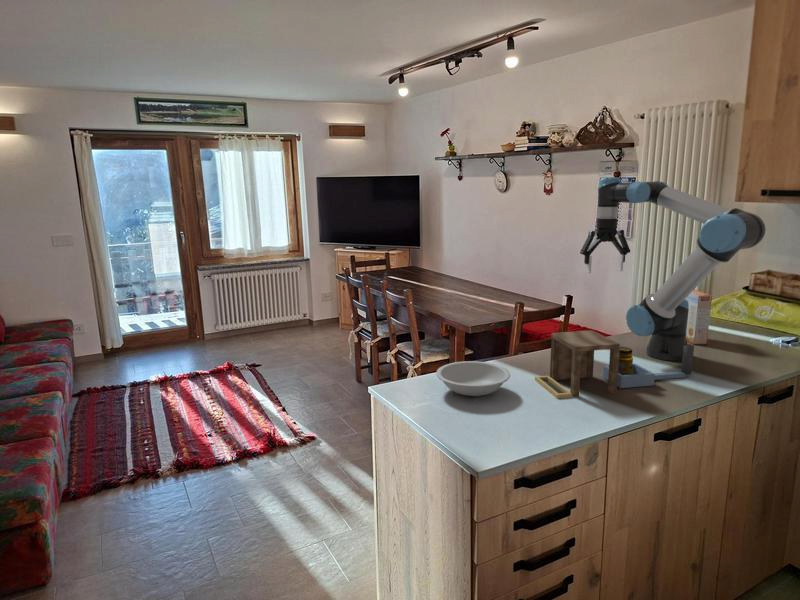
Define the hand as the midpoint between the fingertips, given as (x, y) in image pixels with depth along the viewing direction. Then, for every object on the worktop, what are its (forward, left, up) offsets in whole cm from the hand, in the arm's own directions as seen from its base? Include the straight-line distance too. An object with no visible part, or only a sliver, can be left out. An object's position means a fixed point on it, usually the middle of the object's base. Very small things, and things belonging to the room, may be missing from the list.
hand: (604, 271), depth 215 cm
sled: (+2, +38, -31) cm, 49 cm away
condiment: (+14, +38, -32) cm, 52 cm away
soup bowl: (+65, +35, -32) cm, 80 cm away
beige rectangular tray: (+38, +38, -32) cm, 63 cm away
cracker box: (-43, -1, -32) cm, 54 cm away
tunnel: (+28, +38, -32) cm, 57 cm away
